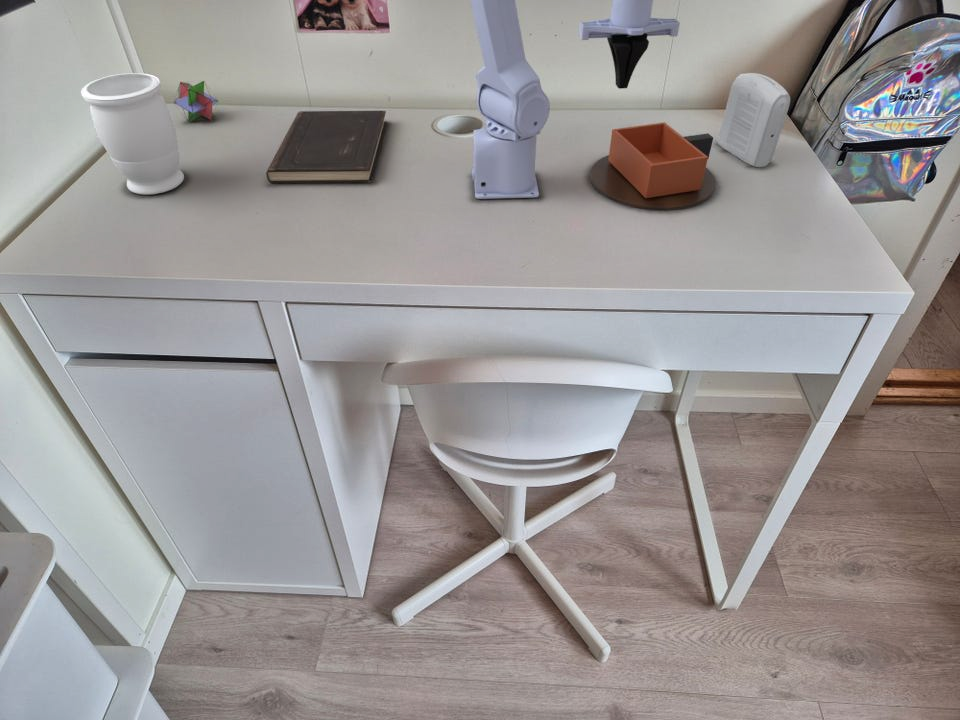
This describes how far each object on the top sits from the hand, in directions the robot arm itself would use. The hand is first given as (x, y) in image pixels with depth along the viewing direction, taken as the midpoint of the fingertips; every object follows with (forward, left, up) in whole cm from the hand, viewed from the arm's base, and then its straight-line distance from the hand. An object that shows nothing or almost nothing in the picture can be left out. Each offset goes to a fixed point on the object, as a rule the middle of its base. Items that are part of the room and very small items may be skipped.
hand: (621, 86), depth 102 cm
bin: (+6, -10, -9) cm, 15 cm away
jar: (-73, -8, -11) cm, 74 cm away
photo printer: (+21, -3, -11) cm, 24 cm away
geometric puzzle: (-73, +17, -11) cm, 76 cm away
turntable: (+4, -11, -10) cm, 16 cm away
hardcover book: (-47, +2, -11) cm, 48 cm away
